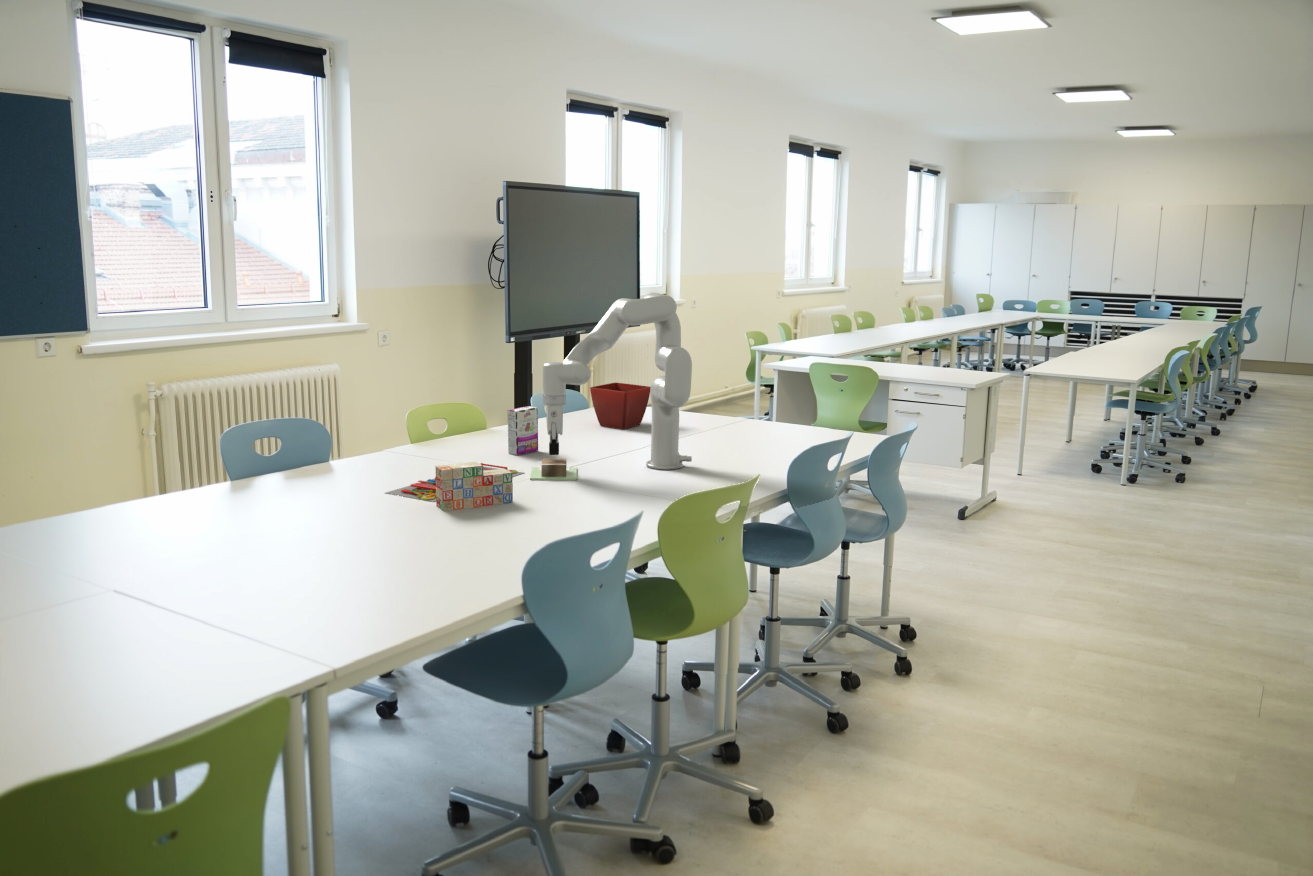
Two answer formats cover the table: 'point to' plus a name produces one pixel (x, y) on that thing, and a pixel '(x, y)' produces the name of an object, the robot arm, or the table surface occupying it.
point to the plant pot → (620, 404)
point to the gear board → (433, 487)
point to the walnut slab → (553, 467)
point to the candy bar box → (522, 430)
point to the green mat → (570, 475)
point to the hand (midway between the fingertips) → (554, 454)
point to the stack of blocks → (471, 486)
